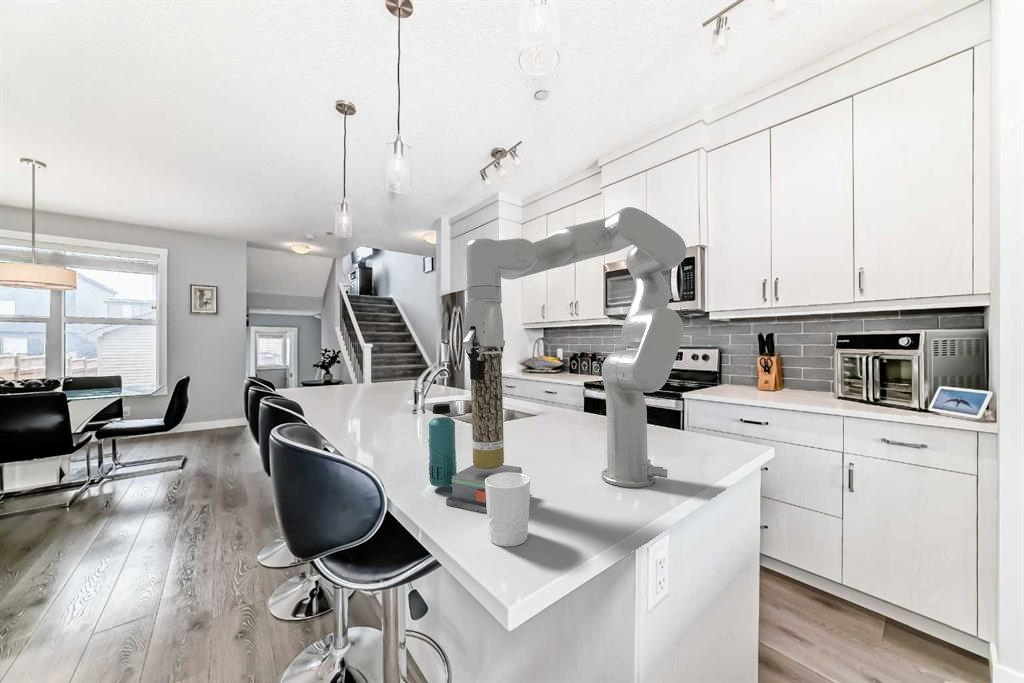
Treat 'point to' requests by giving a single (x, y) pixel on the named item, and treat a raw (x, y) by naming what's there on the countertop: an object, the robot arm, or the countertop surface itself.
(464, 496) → the stand
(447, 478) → the beverage bottle
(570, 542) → the countertop surface
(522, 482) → the white cup
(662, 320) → the robot arm
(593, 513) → the countertop surface
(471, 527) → the countertop surface
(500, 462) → the paper tube
